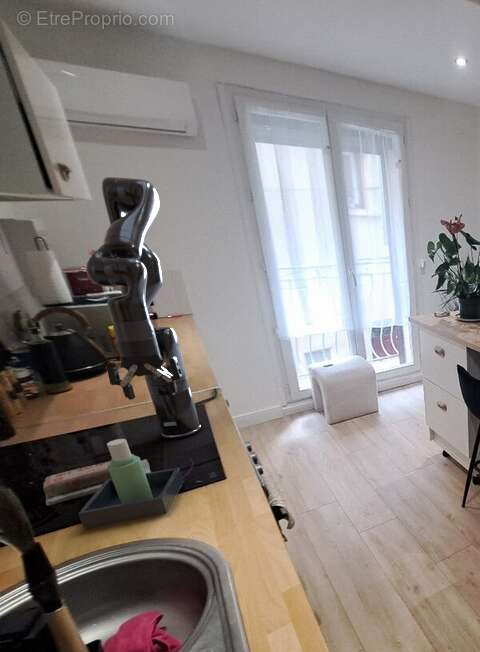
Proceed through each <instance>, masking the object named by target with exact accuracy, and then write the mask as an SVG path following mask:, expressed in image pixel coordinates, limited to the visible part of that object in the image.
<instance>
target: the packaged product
mask: <svg viewBox="0 0 480 652" xmlns="http://www.w3.org/2000/svg"><path fill="white" fill-rule="evenodd" d="M109 463H111V460H110V461H105V462H101V463H97V464H93V465H88V466H84V467H81V468H76V469H72V470H68V471H63V472H60V473H55V474H52V475H48V476H47V477H45V478H44V482H42V486H43V488H42V489H43V493H45V506H53V505H56V504H59V503H63V502H66V501H70V500H73V499H77V498H82V497H85V496H88V495H91V494H95V493H96V492H97V490H98V489H99V488H100V487H101V486H102V484H103V483H104V482H105V481H106V480H107V479H112V477H111V475H110V472H109V469H108V464H109ZM141 463H142V466H143V469H144V472H145V473H150V472H152V471H151V469H150V467H151V466H150V464H149V462H148V460H147V458H146V459H142V460H141Z"/></svg>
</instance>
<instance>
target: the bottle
mask: <svg viewBox="0 0 480 652" xmlns="http://www.w3.org/2000/svg"><path fill="white" fill-rule="evenodd" d="M106 446H107V448H108V451H109V453H110V456H111V460H110V461H111V463H109V464H108V469H109V472H110V475H111V477H112V480H113V483H114V485H115V488H116V491H117V493H118V496H119V499H120V501H121V504H125V503H130V502H135V501H141V500H146V499H152V498H153V495H152V493H151V490H150V487H149V484H148V481H147V478H146V475H145V472H144V469H143V466H142V463H141V461H142V460H141V458H140V457H139V456H138V455H135V454H133V453H131V450H130V446H129V444H128V441H127V439H126V438H117V439H113V440H111V441H109V442H108V443H106Z"/></svg>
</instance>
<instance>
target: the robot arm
mask: <svg viewBox="0 0 480 652" xmlns="http://www.w3.org/2000/svg"><path fill="white" fill-rule="evenodd" d="M101 191H102V196H103V197H102V198H103V200H104V201H103V202H104V204H105V205H104V206H105V209H106V212H107V216H108V217H107V218H108V221H109V226H108V228H107V230H106V233H105V236H104V241H103V244H102V245H101V246H99V248H97V250H96V251H95V252H93V254H92V255H91V256H90V257H89V259H88V260H87V262H86V267H85V270H86V274H87V277H88V279H89V280H90V281H91V282H92V283H93V284H95V285H97V286H100V287H104V288H105V287H106V288H117V287H119V288H120V292H121V295H119V296H118V295H117V296H113V297H110V298H108V299H107V302H106V303H107V308H108V311H109V315H110V318H111V322H112V329H113V334H114V339H115V340H116V343H117V347H118V351H119V354H120V357H121V361H116V360H111V361H109V362H107V363H106V364H105V365H106V371H107V375H108V380H109V384H110V385H111V386H120V387H121V389H122V392H123V395H124V397H125V399H128V401H131V400H134V399H136V395H135V391H134V388H133V387H134V386H133V384H131V383H132V381H133V380H134V378H135V377H144V381H145V383H146V387H147V390H148V393H149V396H150V399H151V402H152V405H153V409H154V412H155V415H156V419H157V422H158V425H159V428H160V431H161V436H162V438H164V439H167V440H176V439H182V438H186V437H189V436H193V435H195V434H197V433H198V432H200V431H201V430H202V426H201V424H200V423H201V422H200V419H199V416H198V412H197V409H196V406H198V405H200V404H202V403H206V402H208V401H211V400H213V399H215V398H216V397H218V389H217V388H216V387H215V388H213V391H214V395H213V396H210V397H208V398H206V399H202V400H199V401H197V402H195V401H194V397H193V394H192V391H191V387H190V383H189V380H188V375H187V372H186V367H185V362H184V357H183V354H182V353H183V352H182V348H181V343H180V338H179V336H178V334H177V331H176V330H175V329H174V328H172V327H170V326H157V327H154V325H153V323H152V321H151V319H150V315H149V314H150V313H149V310H148V309H149V307H150V305H151V304H152V303H153V301H154V300H155V298H156V297H157V296H158V294H159V293H160V291H161V289H162V287H163V284H164V279H163V271H162V266H161V265H162V264H161V261H160V259H159V257H158V256H157V254H156V253H155V252H154V251H153V249H151V248H150V247H149V246H148V245H147V244H146V243H145V239H146V236H147V234H148V232H149V230H150V228H151V227H152V225H153V223H154V221H155V220H156V217H157V215H158V213H159V211H160V205H161V204H160V197H159V194H158V191H157V189H156V188H155V186H154V185H153V183H151V182H150V181H149V180H146V179H140V178H129V177H117V176H116V177H113V176H108V177H105V178H103V179H102V181H101ZM121 367H122V368H124V370H126V371H127V372H126V373H125V375H124V376H123V379H122V378H121V377H120V372H119V370H120V369H121Z"/></svg>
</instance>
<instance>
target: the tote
mask: <svg viewBox="0 0 480 652" xmlns="http://www.w3.org/2000/svg"><path fill="white" fill-rule="evenodd" d="M181 471H182V470H181V468H180V467H176V468H175V467H174V468H168V469H163V470H158V471H151V472H150V473H145V475H146V478H147V481H148V484H149V487H150V490H151V493H152V495H153V498H152V499H146V500H141V501H135V502H130V503H125V504H121V501H120V499H119V496H118V493H117V491H116V488H115V485H114V483H113V480H112V479H107V480H106V481H105V482H104V483H103V484H102V486H101V487H100V488H99V489H98V490H97V492H95V493H93V495H92V496H91V498H89V500H88V501H87V502H86V503H85V505H84V506H83V507H82V508H81V509H80V511H79V512H78V513H77V515H78V517H79V519H80V522H81V524H82V527H83V529H84V530H90V529H95V528H101V527H105V526H111V525H115V524H120V523H125V522H130V521H136V520H141V519H145V518H150V517H151V518H152V517H155V516H161V515H165V514H166V515H167V514H168V512H169V510H170V508H171V506H172V505H173V503H174V501H175V500H176V497H177V495H178V493H179V491H180V489H181V488H182V486H183V484H184V478H183V474H182V472H181Z"/></svg>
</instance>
